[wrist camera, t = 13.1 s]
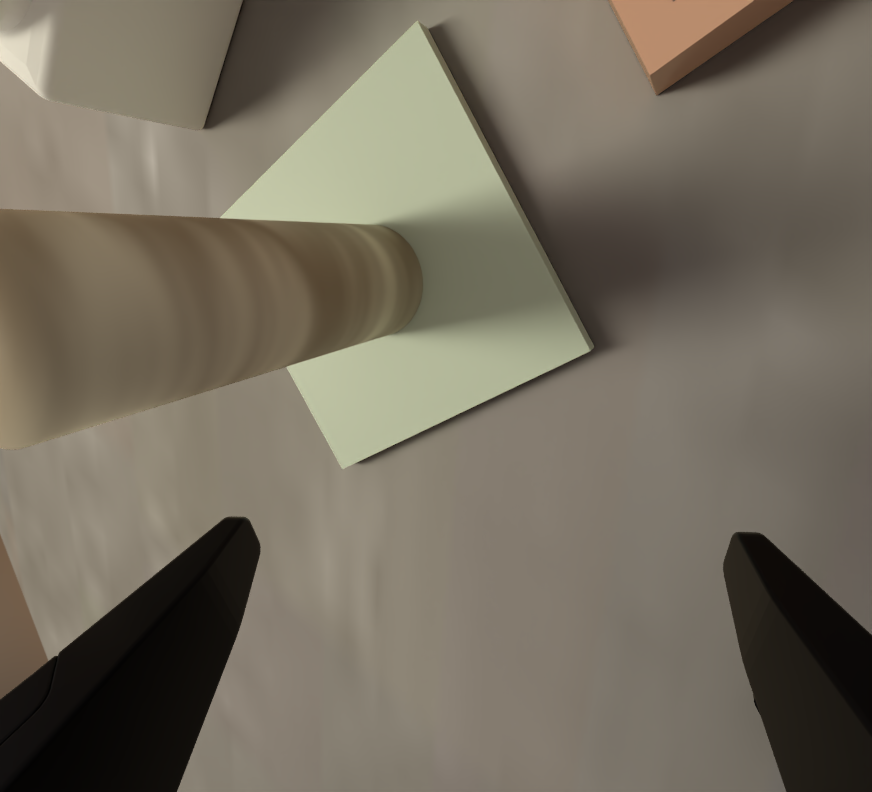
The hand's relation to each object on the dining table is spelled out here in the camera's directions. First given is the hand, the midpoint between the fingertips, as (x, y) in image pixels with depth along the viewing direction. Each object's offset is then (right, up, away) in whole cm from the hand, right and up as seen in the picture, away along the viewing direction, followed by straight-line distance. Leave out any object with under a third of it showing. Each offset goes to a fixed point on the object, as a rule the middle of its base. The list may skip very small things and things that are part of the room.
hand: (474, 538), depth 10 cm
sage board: (-3, +8, +13) cm, 15 cm away
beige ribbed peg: (-3, +7, +12) cm, 14 cm away
